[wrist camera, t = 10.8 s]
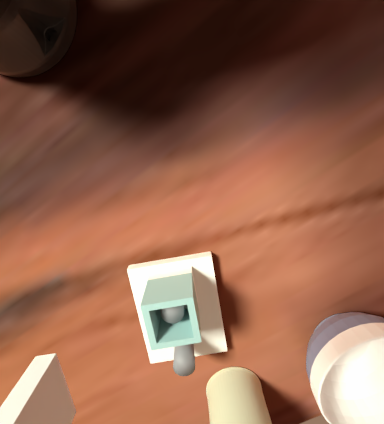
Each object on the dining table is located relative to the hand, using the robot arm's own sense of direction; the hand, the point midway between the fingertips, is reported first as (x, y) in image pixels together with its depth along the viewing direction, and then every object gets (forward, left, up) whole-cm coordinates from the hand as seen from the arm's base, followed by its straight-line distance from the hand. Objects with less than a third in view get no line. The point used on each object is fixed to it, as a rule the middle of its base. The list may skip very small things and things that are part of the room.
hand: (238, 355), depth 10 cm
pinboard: (+16, -6, -28) cm, 33 cm away
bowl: (+26, +18, -29) cm, 43 cm away
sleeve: (+12, -6, -27) cm, 30 cm away
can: (+33, 0, -29) cm, 43 cm away
